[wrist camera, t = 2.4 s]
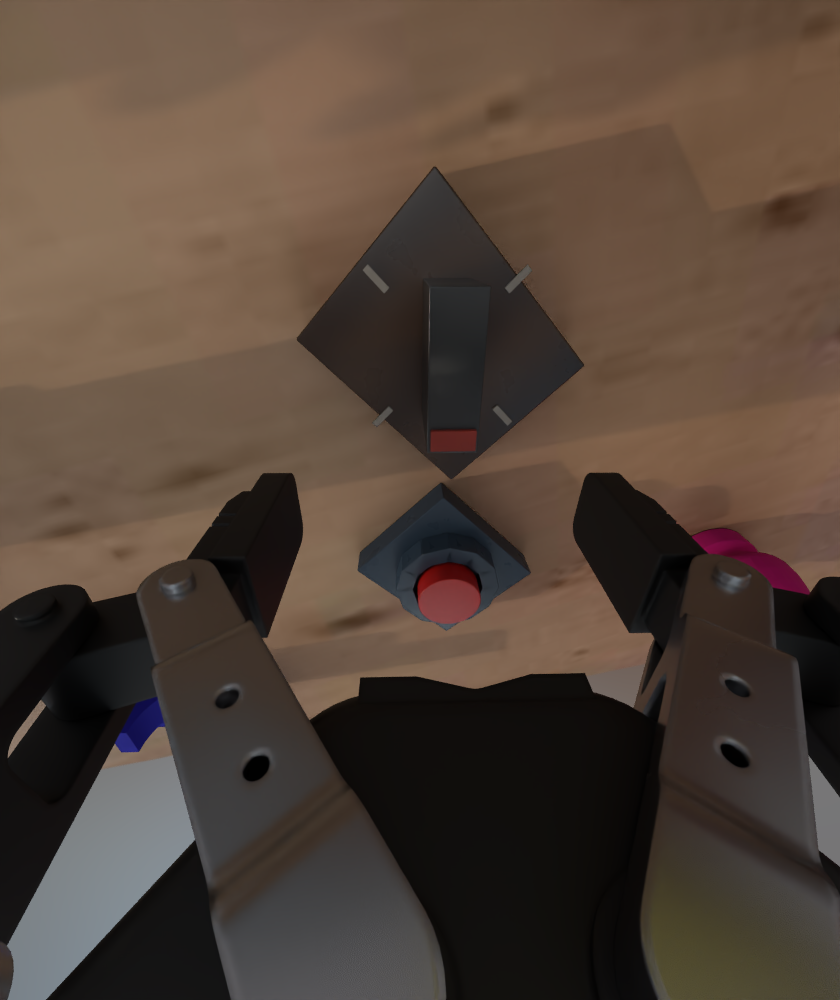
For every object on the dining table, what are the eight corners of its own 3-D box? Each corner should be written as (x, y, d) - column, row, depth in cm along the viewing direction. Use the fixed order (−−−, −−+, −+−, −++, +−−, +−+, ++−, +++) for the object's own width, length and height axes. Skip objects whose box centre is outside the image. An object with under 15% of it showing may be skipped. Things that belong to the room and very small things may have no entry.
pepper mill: (658, 595, 36) (886, 900, 19) (662, 534, 32) (949, 846, 15) (742, 577, 35) (1057, 879, 18) (756, 512, 32) (1167, 815, 15)
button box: (359, 552, 32) (354, 587, 29) (440, 481, 29) (446, 512, 26) (444, 611, 36) (448, 649, 33) (524, 555, 33) (538, 589, 30)
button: (405, 586, 29) (405, 604, 28) (449, 552, 28) (451, 568, 26) (445, 614, 31) (447, 632, 30) (489, 583, 30) (493, 601, 28)
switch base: (300, 337, 23) (287, 349, 21) (439, 165, 20) (445, 151, 17) (440, 465, 28) (445, 487, 26) (574, 346, 24) (595, 358, 22)
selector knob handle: (423, 278, 19) (429, 286, 15) (472, 278, 20) (493, 286, 15) (422, 416, 23) (427, 455, 19) (463, 416, 23) (478, 455, 19)
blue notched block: (161, 697, 41) (127, 760, 36) (146, 670, 39) (108, 733, 34) (280, 694, 42) (263, 756, 36) (272, 667, 39) (253, 729, 34)
